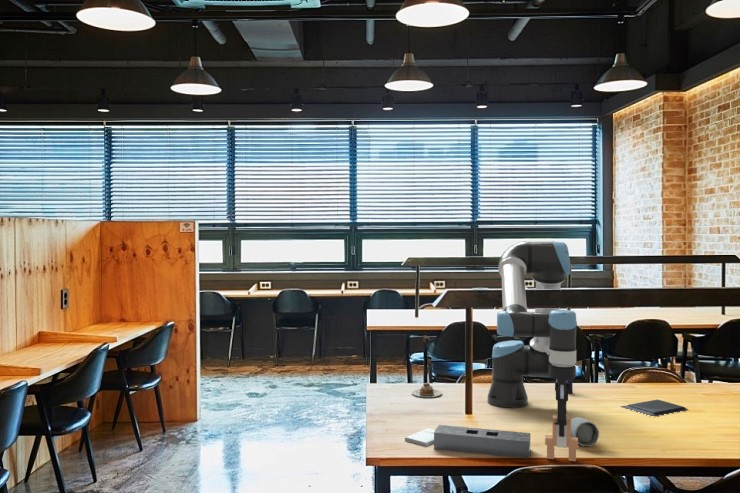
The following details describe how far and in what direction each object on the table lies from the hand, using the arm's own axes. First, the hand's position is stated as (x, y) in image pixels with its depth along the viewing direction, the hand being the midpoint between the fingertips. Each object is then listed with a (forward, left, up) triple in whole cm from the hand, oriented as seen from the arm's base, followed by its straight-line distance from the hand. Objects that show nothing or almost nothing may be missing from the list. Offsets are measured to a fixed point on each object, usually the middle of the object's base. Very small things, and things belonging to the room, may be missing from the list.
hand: (561, 444), depth 183 cm
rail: (-2, -23, -4) cm, 23 cm away
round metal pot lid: (-59, -52, -5) cm, 79 cm away
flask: (-81, +1, -5) cm, 81 cm away
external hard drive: (-7, -41, -5) cm, 42 cm away
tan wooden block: (0, 0, -4) cm, 4 cm away
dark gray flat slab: (-65, +33, -5) cm, 73 cm away
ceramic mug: (-16, +5, -5) cm, 18 cm away
